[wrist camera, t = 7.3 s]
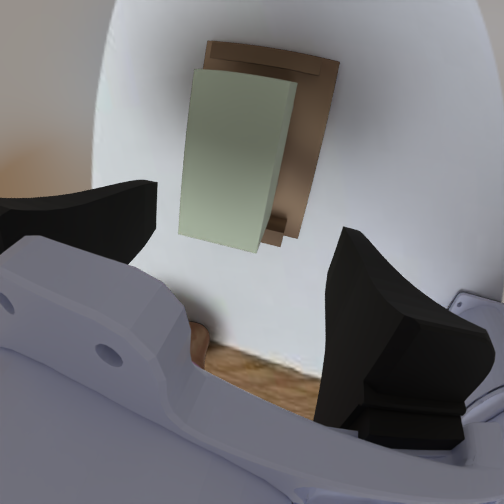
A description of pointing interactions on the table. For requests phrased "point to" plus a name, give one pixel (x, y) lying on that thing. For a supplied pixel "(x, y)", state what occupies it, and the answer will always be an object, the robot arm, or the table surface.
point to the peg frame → (300, 127)
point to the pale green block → (233, 156)
